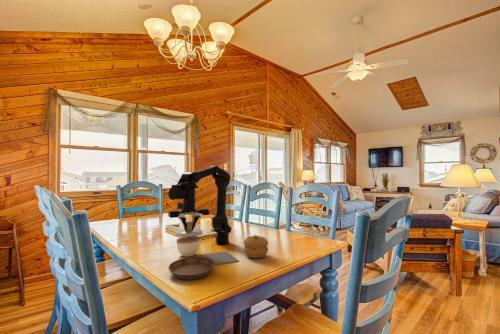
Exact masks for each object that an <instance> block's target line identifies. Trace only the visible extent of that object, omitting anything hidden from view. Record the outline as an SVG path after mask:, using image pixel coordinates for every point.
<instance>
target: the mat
mask: <svg viewBox="0 0 500 334" xmlns="http://www.w3.org/2000/svg"><path fill="white" fill-rule="evenodd" d="M193 257H204V258H208V259H211V260H212V261H213V262H214V264H215V265H214V267H215V266H219V265H225V264H226V265H227V264H233V263H238V262H240V260H239V259H238V258H237V257H235V256H233V255H232V254H230V252H228V251H227V250H224V251H216V252H215V251H214V252H210V253H209V252H208V253H202V254H195V255H193Z"/></svg>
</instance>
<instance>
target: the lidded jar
mask: <svg viewBox="0 0 500 334" xmlns="http://www.w3.org/2000/svg"><path fill="white" fill-rule="evenodd" d="M199 247H200V236H199V235H198V236H192V237H180V236H179V237H177V239H176V248H177V251H178V253H179V254H180V255H181V256H183V257H194V255H196V253H197V251H198V250H199Z"/></svg>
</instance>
